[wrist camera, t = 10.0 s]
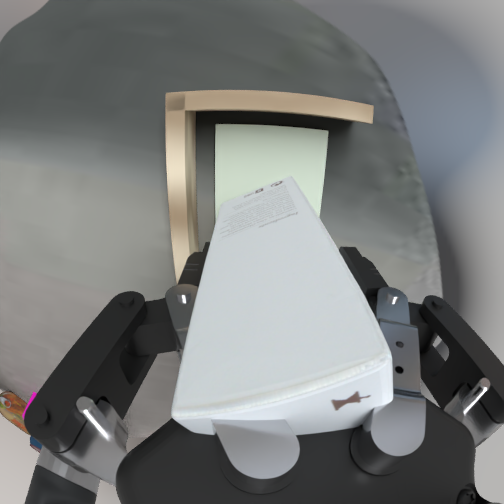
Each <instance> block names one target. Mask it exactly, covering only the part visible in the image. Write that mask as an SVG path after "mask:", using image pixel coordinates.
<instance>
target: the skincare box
mask: <svg viewBox="0 0 504 504" xmlns="http://www.w3.org/2000/svg"><path fill="white" fill-rule="evenodd" d="M392 400H393V367H392V355H391V351H390V349H389V347H388V344H387V342H386V340H385V338H384V335H383V333H382V331H381V329H380V327H379V324H378V322H377V320H376V318H375V316H374V314H373V312H372V310H371V308H370V306H369V304H368V302H367V300H366V298H365V296H364V294H363V292H362V290H361V289H360V287H359V285H358V283H357V282H356V280H355V278H354V277H353V275H352V273H351V272H350V270H349V268H348V266H347V264H346V263H345V261H344V259H343V257H342V256H341V254H340V252H339V250H338V249H337V247H336V245H335V243H334V242H333V240H332V238H331V236H330V235H329V233H328V232H327V230H326V228H325V227H324V225H323V224H322V222H321V220H320V219H319V217H318V215H317V214H316V212H315V211H314V209H313V207H312V206H311V204H310V203H309V201H308V199H307V197H306V196H305V195H304V193H303V191H302V190H301V188H300V187H299V185H298V184H297V182H296V181H295V179H294V178H293V177H292V176H289V177H286V178H284V179H281V180H279V181H276V182H273V183H271V184H268V185H266V186H263V187H261V188H258V189H256V190H253V191H251V192H249V193H246V194H243V195H241V196H239V197H236V198H234V199H231V200H229V201H226V202H224V203H222V204H221V206H220V210H219V214H218V217H217V221H216V224H215V228H214V232H213V235H212V239H211V242H210V246H209V249H208V253H207V257H206V260H205V264H204V268H203V273H202V276H201V280H200V284H199V288H198V292H197V296H196V300H195V304H194V308H193V312H192V316H191V321H190V325H189V329H188V334H187V337H186V342H185V346H184V351H183V356H182V360H181V365H180V370H179V375H178V379H177V384H176V389H175V394H174V399H173V404H172V410H171V415H172V418H173V419H174V420H175V421H177V422H178V423H179V424H181V425H182V426H184V427H185V428H187V429H188V430H190V431H192V432H194V433H201V434H209V435H214V433H213V428H212V423H211V419H222V420H279V419H285V420H286V421H287V423H288V425H289V426H290V428H291V429H292V431H293V432H294V434H295V435H304V434H313V433H321V432H329V431H336V430H343V429H348V428H354V427H358V426H360V425H361V424H362V423H363V422H364V421H365V419H366V418H367V417H368V415H369V414H370V413H371V411H372V410H373V409H374V407H378V406H382V405H385V404H387V403H390V402H391V401H392Z"/></svg>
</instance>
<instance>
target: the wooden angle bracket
mask: <svg viewBox="0 0 504 504" xmlns="http://www.w3.org/2000/svg"><path fill="white" fill-rule="evenodd" d="M373 107H374V106H372V105H367V104H362V103H358V102H352V101H347V100H341V99H335V98H329V97H322V96H314V95H306V94H297V93H286V92H273V91H253V90H206V91H186V92H173V93H166V163H167V185H168V201H169V214H170V226H171V237H172V247H173V256H174V265H175V273H176V281H177V284H178V281H179V279H180V276H181V274H182V271H183V268H184V266H185V263H186V261H187V258H188V257H189V256H190V255H191V254H192V253H194V252H199V243H198V223H197V197H196V111H259V112H277V113H290V114H301V115H311V116H319V117H327V118H334V119H341V120H347V121H353V122H362V123H371V124H372V121H373Z"/></svg>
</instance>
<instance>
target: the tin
mask: <svg viewBox="0 0 504 504" xmlns="http://www.w3.org/2000/svg"><path fill="white" fill-rule="evenodd" d="M26 406H27V403H26V402H24V401H23V400H22V399H20V398H19V397H18V396H17V395H15V394H14V393H12V392H8V391H6V392H3V393H1V394H0V413H1V414H2V415H3V416H4V417H5V418H6V419H7V420H9V421H10V422H11V423H13V424H14V425H15V426H17V427H18V428H20V429H21V430H22V431H24V432H25V433H27V434H29V433H28V431H27V430H26V428H25V424H24V420H23V417H22V415H23V413H24V411H25V409H26ZM29 435H30V434H29Z"/></svg>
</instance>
